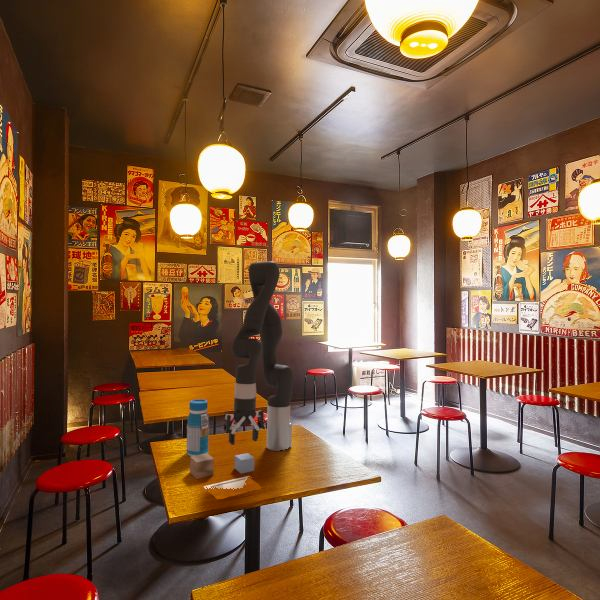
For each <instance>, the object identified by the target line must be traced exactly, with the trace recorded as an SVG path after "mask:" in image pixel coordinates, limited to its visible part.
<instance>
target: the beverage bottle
mask: <svg viewBox="0 0 600 600" xmlns="http://www.w3.org/2000/svg"><path fill="white" fill-rule="evenodd" d="M207 410H208V400H207V399H204V398H203V399H192V400H190V401H189V411H190V412H189V413H188V415H187V417H186V418H187V419H186V420H187V423H186V455H188V456H189V457H190V456H195V455H200V454H205V453H208V454H209V435H210V422H209V420H210V416H209V414H208V412H207Z"/></svg>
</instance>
